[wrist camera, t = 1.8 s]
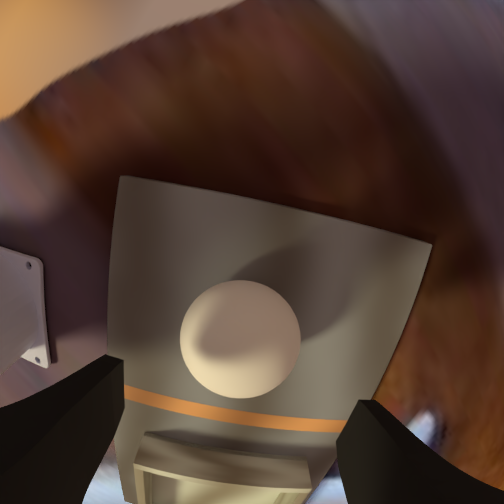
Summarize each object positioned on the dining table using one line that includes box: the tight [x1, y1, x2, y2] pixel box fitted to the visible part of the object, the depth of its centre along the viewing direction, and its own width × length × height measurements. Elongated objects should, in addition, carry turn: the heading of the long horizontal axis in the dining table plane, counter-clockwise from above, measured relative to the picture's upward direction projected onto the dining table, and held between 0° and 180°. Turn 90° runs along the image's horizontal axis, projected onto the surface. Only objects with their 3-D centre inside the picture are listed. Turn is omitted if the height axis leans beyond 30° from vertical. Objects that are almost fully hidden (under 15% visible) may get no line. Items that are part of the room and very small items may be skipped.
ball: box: [180, 280, 301, 398], centre depth 13 cm, size 5×5×5 cm
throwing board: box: [107, 176, 432, 504], centre depth 16 cm, size 16×29×4 cm, turn 168°
